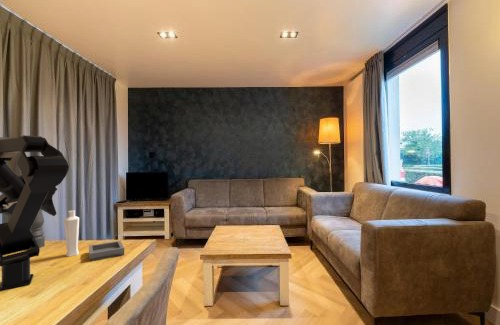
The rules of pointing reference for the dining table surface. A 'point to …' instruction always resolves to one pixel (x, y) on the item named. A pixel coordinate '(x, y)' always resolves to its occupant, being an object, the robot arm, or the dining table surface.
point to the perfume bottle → (71, 233)
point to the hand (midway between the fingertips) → (43, 217)
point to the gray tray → (106, 250)
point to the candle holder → (38, 229)
